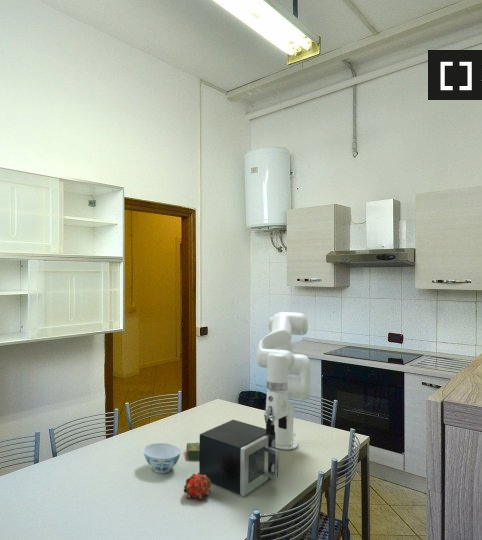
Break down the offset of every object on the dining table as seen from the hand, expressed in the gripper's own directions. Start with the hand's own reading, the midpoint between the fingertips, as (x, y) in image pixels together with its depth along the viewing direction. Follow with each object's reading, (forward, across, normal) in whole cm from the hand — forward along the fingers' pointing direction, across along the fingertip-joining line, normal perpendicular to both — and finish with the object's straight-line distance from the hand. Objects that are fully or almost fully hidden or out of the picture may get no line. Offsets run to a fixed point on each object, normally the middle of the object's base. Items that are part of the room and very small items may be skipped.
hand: (276, 431), depth 162 cm
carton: (+20, +2, +34) cm, 40 cm away
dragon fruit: (+21, -28, +16) cm, 38 cm away
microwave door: (+20, -7, +2) cm, 21 cm away
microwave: (+20, -4, +14) cm, 25 cm away
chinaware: (+20, -21, +39) cm, 49 cm away
